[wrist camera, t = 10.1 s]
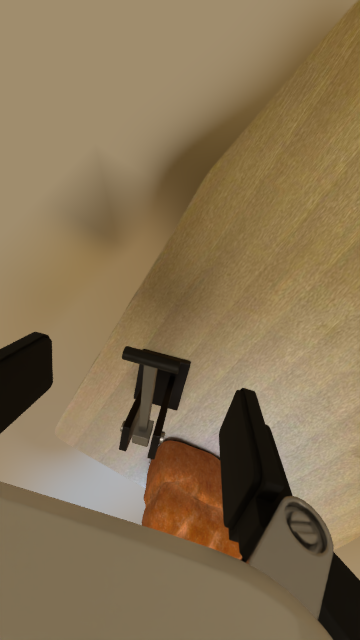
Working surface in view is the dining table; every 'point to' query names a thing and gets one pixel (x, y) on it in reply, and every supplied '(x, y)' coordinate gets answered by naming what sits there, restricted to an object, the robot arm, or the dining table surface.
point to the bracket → (156, 402)
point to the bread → (187, 497)
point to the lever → (148, 387)
